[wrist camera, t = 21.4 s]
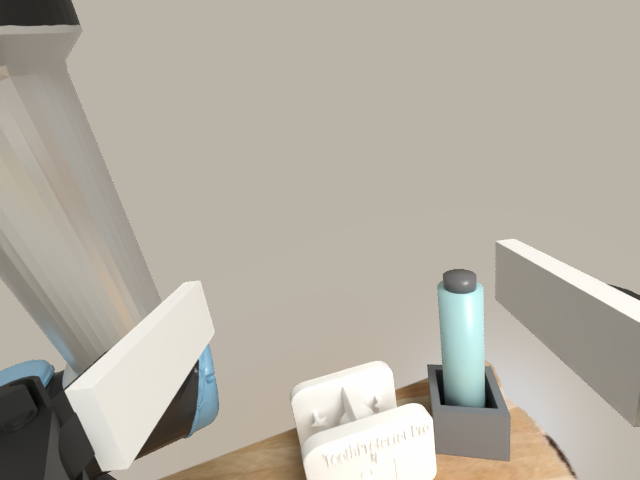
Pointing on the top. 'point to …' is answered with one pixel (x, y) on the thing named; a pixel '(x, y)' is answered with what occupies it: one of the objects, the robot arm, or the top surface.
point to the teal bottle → (462, 338)
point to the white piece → (361, 428)
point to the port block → (470, 421)
